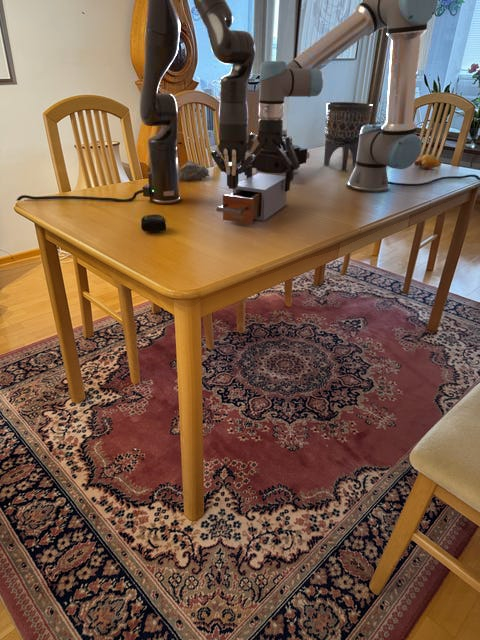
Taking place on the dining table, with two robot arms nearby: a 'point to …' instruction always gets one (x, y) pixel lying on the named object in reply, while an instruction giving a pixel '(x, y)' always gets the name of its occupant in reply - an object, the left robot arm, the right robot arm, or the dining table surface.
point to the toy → (427, 162)
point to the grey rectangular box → (266, 192)
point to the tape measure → (153, 223)
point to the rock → (192, 172)
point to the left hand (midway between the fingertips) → (232, 188)
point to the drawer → (241, 206)
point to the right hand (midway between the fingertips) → (267, 188)
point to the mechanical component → (277, 159)
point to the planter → (345, 129)
